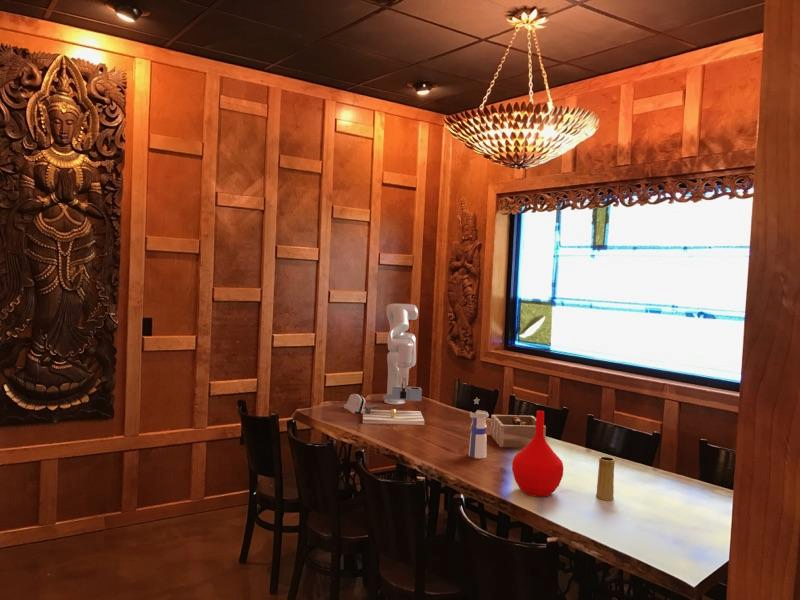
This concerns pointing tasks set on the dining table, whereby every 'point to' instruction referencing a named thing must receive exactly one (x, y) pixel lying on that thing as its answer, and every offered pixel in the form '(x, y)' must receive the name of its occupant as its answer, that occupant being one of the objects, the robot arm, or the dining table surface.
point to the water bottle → (478, 433)
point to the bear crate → (513, 430)
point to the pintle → (393, 413)
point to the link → (411, 394)
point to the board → (386, 418)
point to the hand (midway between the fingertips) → (402, 397)
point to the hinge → (355, 403)
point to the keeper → (368, 408)
